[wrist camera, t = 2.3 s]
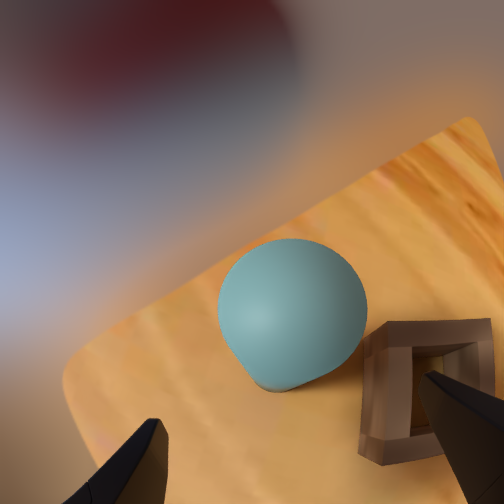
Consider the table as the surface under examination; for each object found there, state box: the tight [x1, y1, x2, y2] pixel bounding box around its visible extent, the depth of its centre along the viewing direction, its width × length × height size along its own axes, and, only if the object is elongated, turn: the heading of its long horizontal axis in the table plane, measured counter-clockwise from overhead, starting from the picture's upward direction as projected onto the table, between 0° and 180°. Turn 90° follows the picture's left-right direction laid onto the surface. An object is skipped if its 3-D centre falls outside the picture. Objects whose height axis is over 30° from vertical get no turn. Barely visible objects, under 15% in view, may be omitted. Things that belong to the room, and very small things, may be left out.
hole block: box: [358, 318, 495, 466], centre depth 14 cm, size 8×8×4 cm
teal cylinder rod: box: [218, 239, 367, 392], centre depth 12 cm, size 4×4×13 cm
